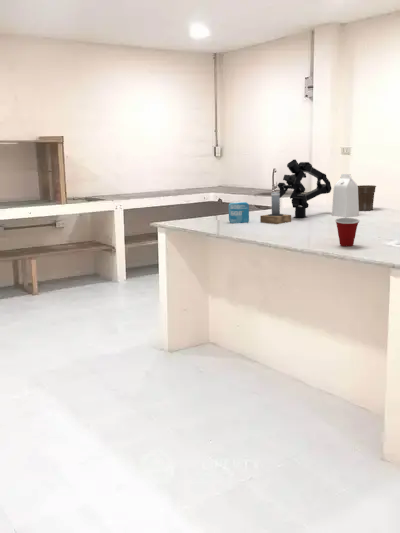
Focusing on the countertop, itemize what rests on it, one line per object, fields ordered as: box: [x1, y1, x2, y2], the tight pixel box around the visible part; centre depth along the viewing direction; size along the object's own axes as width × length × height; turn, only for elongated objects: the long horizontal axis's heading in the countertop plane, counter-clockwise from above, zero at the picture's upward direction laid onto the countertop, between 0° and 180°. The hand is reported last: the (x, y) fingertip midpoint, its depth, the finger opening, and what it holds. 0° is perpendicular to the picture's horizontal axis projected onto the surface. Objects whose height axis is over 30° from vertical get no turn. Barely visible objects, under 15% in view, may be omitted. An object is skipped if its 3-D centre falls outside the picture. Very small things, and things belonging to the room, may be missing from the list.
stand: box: [259, 213, 292, 225], centre depth 343 cm, size 13×13×4 cm
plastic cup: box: [334, 217, 360, 247], centre depth 258 cm, size 11×11×12 cm
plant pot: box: [357, 184, 377, 212], centre depth 382 cm, size 16×16×16 cm
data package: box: [228, 201, 250, 224], centre depth 346 cm, size 12×4×12 cm, turn 92°
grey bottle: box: [270, 192, 281, 215], centre depth 341 cm, size 5×5×13 cm
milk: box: [331, 173, 360, 218], centre depth 357 cm, size 12×12×26 cm
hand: (284, 198), depth 347 cm, fingers open, 9 cm apart
